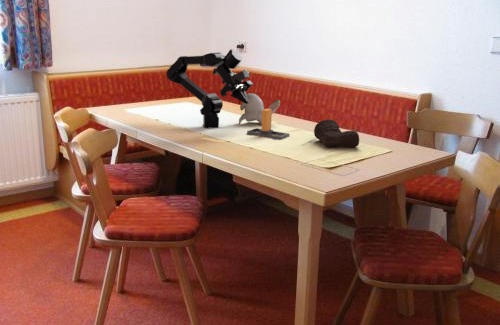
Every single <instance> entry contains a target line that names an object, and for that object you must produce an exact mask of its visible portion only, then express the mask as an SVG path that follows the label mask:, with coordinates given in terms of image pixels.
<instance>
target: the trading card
mask: <svg viewBox="0 0 500 325" xmlns="http://www.w3.org/2000/svg"><path fill="white" fill-rule="evenodd" d="M307 162H308V161H305V162H302V163H300V165H302V166H305V167H309V168H313V169H316V170H320V171H323V172H327V173H331V174H334V175H338V176H341V177H345V176H348V175H350V174H353V173H355V172H358V171H360V170H361V169H359V168H356V167H352V166H350V165H346V164H345V165H344V164H342V166H344V167H347V168H348V167H349V168H351V169H355V170H354V171H351V172H348V173H345V174H341V173H340V174H339V173H335V172H332V171H329V170H325V169H323V168H322V169H321V168H318V167H315V166H310V165H307Z"/></svg>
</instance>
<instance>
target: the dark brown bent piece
mask: <svg viewBox="0 0 500 325" xmlns="http://www.w3.org/2000/svg"><path fill="white" fill-rule="evenodd" d="M313 135H314V138H316V139H317V140H319V141H320V142H321V143H322V144H323V145H324V146H325V147H326V148H337V147H344V148H350V147H351V148H355V147H358V146H359V145H360V135H359V133H358V131H357V130H346V131H341V129H340V127H339V124H338V122H337V121H335V120H334V119H323V120H321V121H318V123H317V124H315V126H314V129H313Z"/></svg>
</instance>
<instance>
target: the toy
mask: <svg viewBox="0 0 500 325" xmlns="http://www.w3.org/2000/svg"><path fill="white" fill-rule="evenodd" d="M246 95H247V98H248V102H249V103H248V104H246V103H244V102H242V103H241V104H240V107H239V108H240V111H243V110H244V113H243V114H242V115H241V116H240V117H239V119H238V125H240V124H241V122H243V120H245V121H246V122H249V123H250V122H254V121H257V122H258V124H259V125H262V110H264V109H265V107H264V102H263V100H262V99H261V98H260V96H259V95H257V94H255V93H253V92H252V93H251V92H250V93H246ZM280 104H281V100H280V99H276V100H275V101H273V102H272V103H271V104H270V105H269V106H268V108H267V109H272V115H273V114H274V113H275V112H276V111H277V109H278V108H279V107H280Z"/></svg>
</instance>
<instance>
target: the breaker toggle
mask: <svg viewBox="0 0 500 325" xmlns="http://www.w3.org/2000/svg"><path fill="white" fill-rule="evenodd" d="M272 115H273V114H272V109H268V108H264V110H262V124H261V129H262V130H260V132H259V133H265V134H271V135H274V134H273V131H274V129H272V117H273V116H272Z"/></svg>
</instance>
